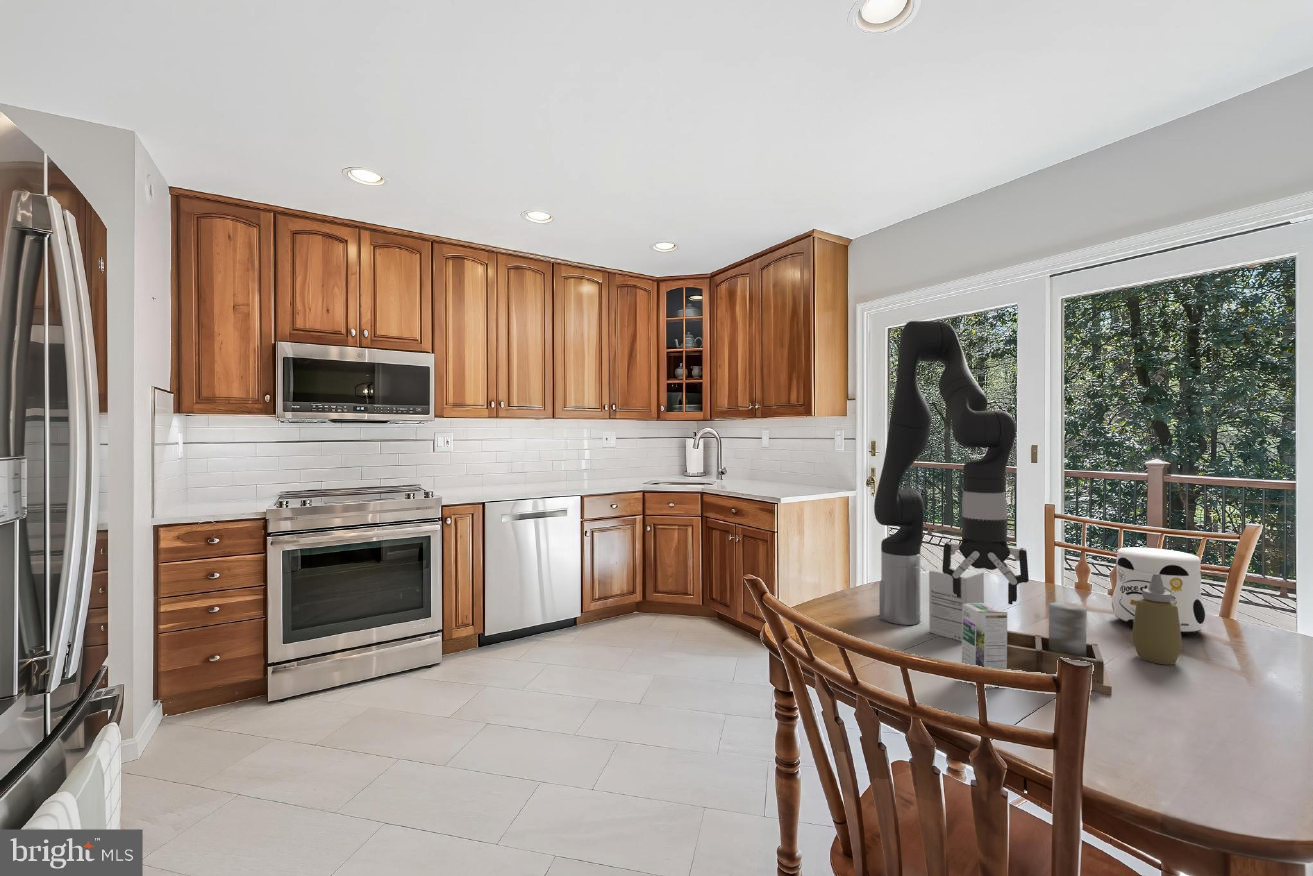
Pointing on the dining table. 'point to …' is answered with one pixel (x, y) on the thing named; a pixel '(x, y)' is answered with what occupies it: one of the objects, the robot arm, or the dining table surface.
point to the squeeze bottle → (1157, 625)
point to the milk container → (1177, 579)
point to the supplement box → (952, 600)
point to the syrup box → (984, 636)
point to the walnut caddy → (1058, 646)
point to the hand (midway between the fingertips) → (984, 600)
